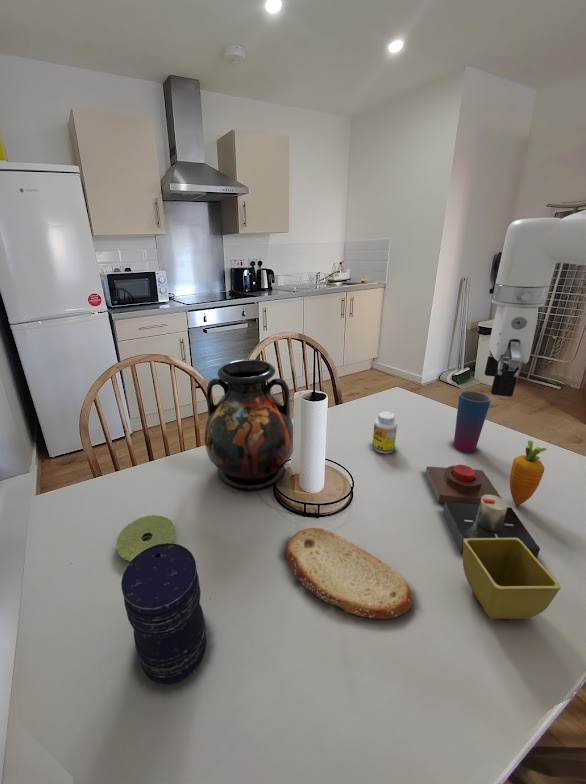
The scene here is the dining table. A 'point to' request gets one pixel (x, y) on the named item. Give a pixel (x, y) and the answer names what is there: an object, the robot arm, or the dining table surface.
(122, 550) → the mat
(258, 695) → the dining table surface
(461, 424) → the cup
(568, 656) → the dining table surface
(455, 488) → the button block
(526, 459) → the carrot
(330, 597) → the bread slice
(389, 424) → the supplement bottle
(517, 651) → the dining table surface
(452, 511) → the control panel
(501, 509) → the dial
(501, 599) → the flower pot
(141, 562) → the navy ridged drum
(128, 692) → the dining table surface
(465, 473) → the button
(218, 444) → the amphora vase
